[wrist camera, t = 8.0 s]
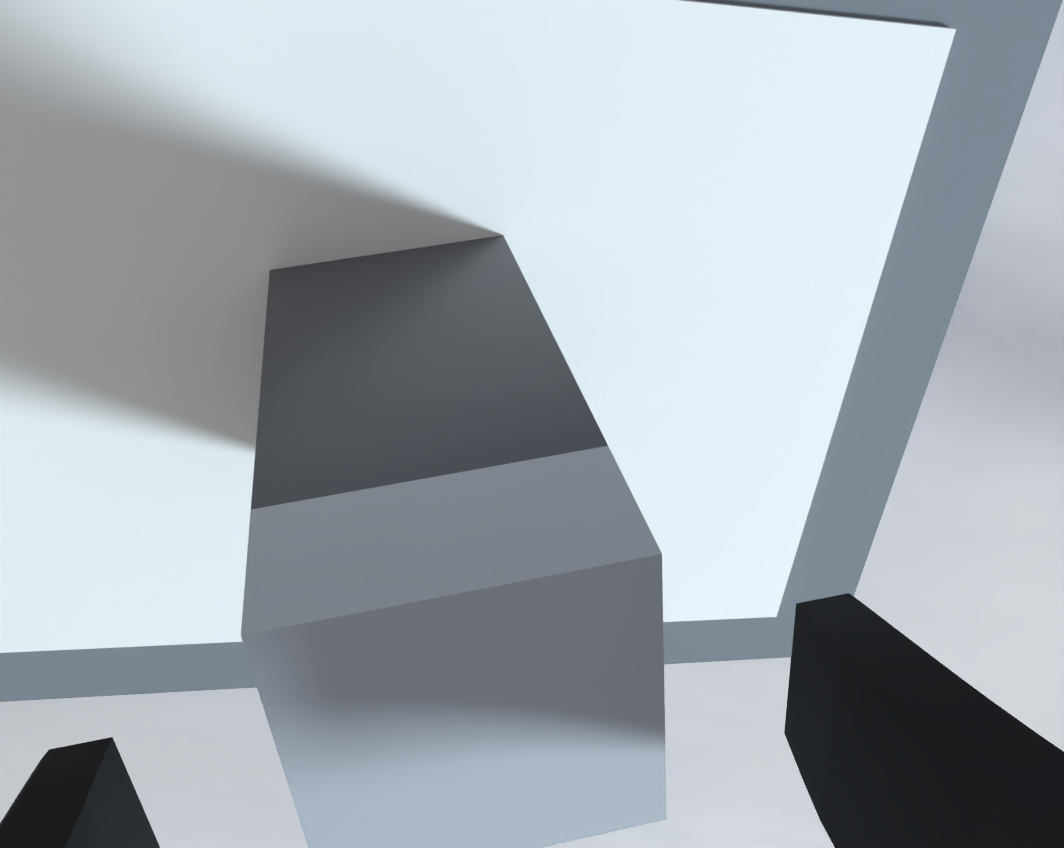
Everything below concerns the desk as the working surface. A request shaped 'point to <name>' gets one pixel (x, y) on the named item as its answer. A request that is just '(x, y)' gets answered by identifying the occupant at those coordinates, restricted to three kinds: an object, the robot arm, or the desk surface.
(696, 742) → the desk surface
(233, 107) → the desk mat
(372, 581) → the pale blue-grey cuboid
